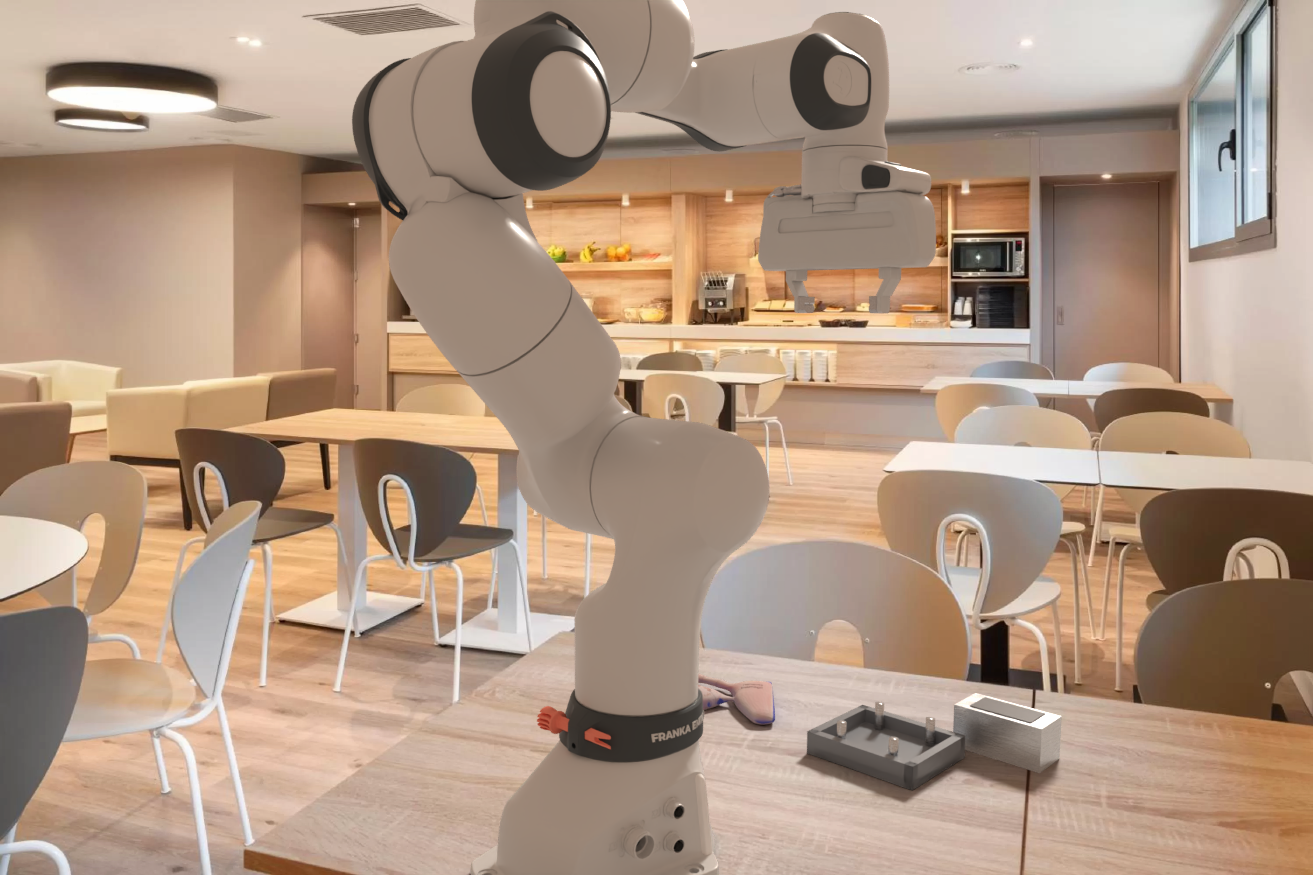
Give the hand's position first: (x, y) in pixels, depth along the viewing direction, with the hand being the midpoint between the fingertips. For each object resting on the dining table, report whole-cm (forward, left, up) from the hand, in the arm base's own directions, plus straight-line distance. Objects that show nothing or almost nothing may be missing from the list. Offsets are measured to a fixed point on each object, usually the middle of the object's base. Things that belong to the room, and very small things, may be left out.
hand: (840, 313), depth 112 cm
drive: (+12, -15, -48) cm, 52 cm away
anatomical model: (-1, +20, -49) cm, 53 cm away
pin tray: (+2, -6, -48) cm, 48 cm away
